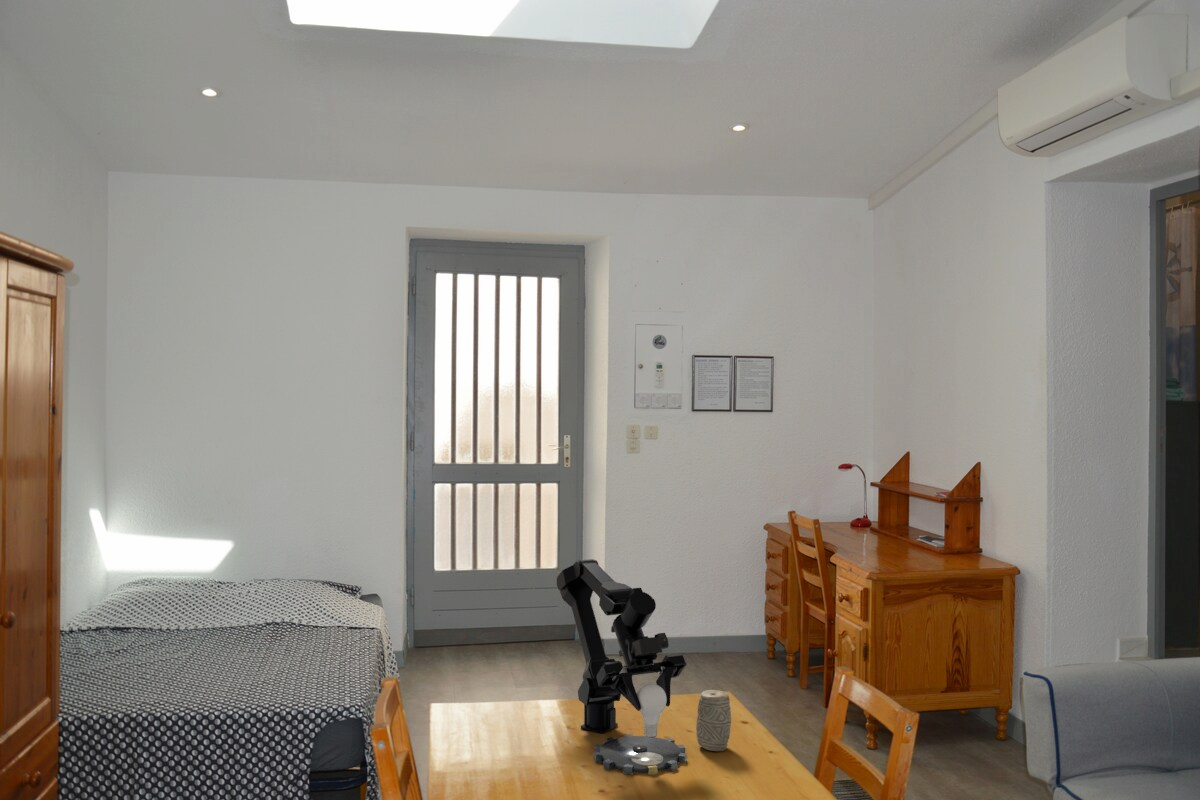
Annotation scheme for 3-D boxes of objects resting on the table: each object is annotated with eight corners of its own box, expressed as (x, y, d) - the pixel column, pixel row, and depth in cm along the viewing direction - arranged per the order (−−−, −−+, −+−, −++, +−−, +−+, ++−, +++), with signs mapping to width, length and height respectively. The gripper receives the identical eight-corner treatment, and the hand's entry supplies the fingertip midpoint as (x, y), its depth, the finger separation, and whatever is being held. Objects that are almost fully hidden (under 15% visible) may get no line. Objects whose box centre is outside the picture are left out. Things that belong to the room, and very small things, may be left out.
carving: (730, 754, 207) (730, 698, 207) (694, 752, 209) (694, 696, 209) (732, 744, 214) (732, 689, 214) (697, 741, 215) (697, 687, 215)
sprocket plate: (576, 762, 203) (576, 753, 203) (623, 734, 219) (623, 726, 219) (658, 782, 193) (658, 772, 193) (701, 751, 209) (701, 742, 209)
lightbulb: (634, 731, 203) (635, 679, 203) (665, 731, 203) (666, 679, 203) (635, 743, 197) (636, 689, 197) (667, 743, 197) (668, 689, 197)
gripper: (602, 624, 199) (624, 694, 190) (683, 615, 207) (708, 683, 197) (587, 652, 207) (607, 720, 197) (665, 643, 214) (689, 709, 204)
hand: (654, 707), depth 199 cm, fingers closed on lightbulb, 6 cm apart
